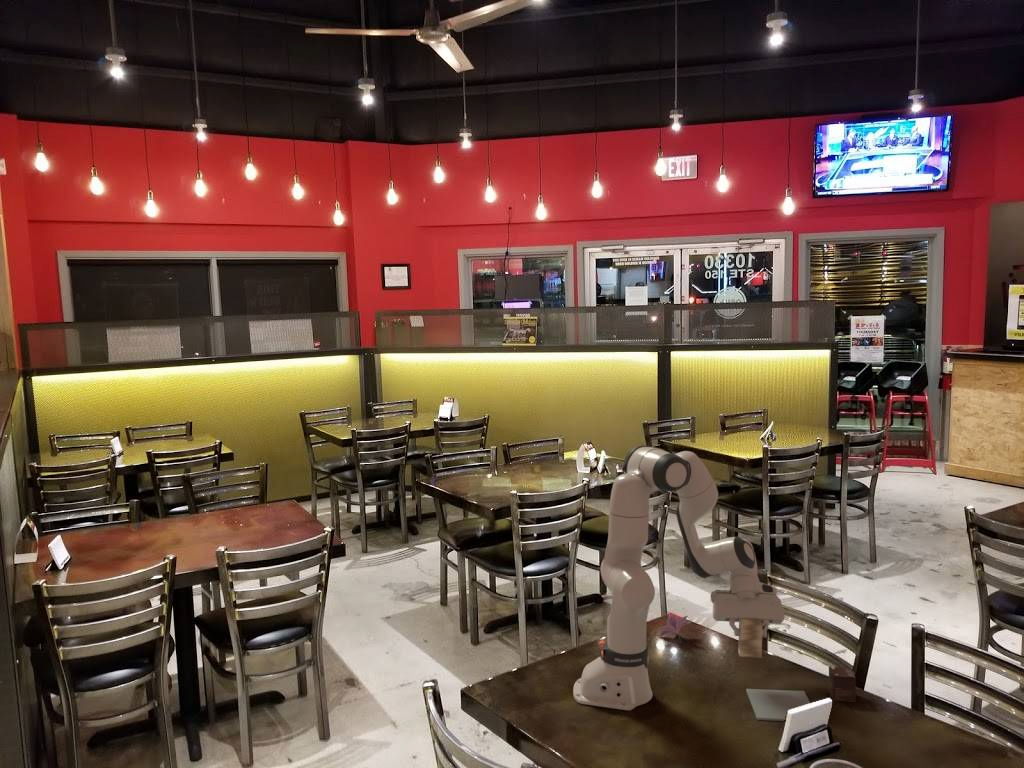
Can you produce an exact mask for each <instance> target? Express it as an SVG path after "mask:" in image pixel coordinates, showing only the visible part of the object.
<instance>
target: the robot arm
mask: <svg viewBox="0 0 1024 768" xmlns="http://www.w3.org/2000/svg"><path fill="white" fill-rule="evenodd" d="M621 471H622V474H620V475H618V476H617V477H616V478H615V479H614V480H613V484H612V488H611V493H610V500H609V508H608V510H609V511H608V532H607V533H608V534H607V535H608V536H607V543H606V547H605V552H604V556H603V559H602V561H601V564H600V574H601V578H602V581H603V583H604V584H605V586H606V587H607V588H608V590H609V591H610V594H611V606H610V607H611V608H610V612H609V615H608V616H607V618H606V625H607V626H606V628H607V629H606V630H607V632H606V634H607V635H606V638H607V639H606V641H605V640H600V641H599V642H598V648H599V652H600V653H599V656H598V657H597V658H595V659H593V660H592V661H590V662H589V663H587V664H586V665H585V666H584V668H583V671H582V673H581V677H579V678H578V679H577V680H576V681H575V683H574V685H573V688H572V689H573V690H572V693H573V694H572V695H573V699H574V700H575V701H576V702H577V703H579V704H580V705H589V706H593V707H594V706H596V707H601V708H608V709H615V710H616V709H617V710H624V711H632V710H635V708H636V707H638V706H642V705H644V704H647V703H648V702H649V701H651V700H652V698H653V691H652V689H651V688H652V687H651V683H650V678H649V673H648V672H649V671H648V667H649V648H648V645H647V623H648V622H647V621H648V615H649V610H650V606H651V604H652V603H653V601H654V598H655V596H656V589H655V586H654V583H653V581H652V578H651V577H650V575H649V573H648V572H646V571H645V569H644V568H643V567H642V557H643V552H644V549H645V547H646V545H647V543H648V541H649V518H650V497H651V495H652V492H653V490H654V489H655V490H660V491H662V492H675V493H676V494H677V496H678V498H679V503H677V505H676V509H675V514H676V520H677V523H678V527H679V531H680V534H681V537H682V539H683V543H684V547H685V550H686V553H687V557H688V562H689V566H690V568H691V571H692V572H693V573H694V574H695V575H697V576H698V577H700V578H703V579H706V578H709V577H710V578H711V577H714V576H717V575H720V574H725V573H729V579H728V580H729V581H728V583H729V589H728V590H727V589H722V590H721V589H715V590H714V591H712V592H711V593H710V602H712V618H713V619H714V620H715V621H716V622H728V624H729V626H730V628H731V629H732V631H733V634H734V637H739V636H740V628H739V627H737V625H736V624H735V623H739V619H750V620H761V622H762V627H763V628H762V638H767V637H768V632H767V631H768V628H769V626H770V624H773V625H777V624H778V625H781V624H782V623H783V622H784V620H785V618H786V617H785V609H784V607H783V603H782V601H781V599H780V597H779V596H778V595H777V593H778V591H777V589H778V588H777V587H775V586H773V585H769V584H766V583H764V582H761V581H760V579H759V576H758V564H757V563H758V562H757V557H756V553H755V550H754V546H753V543H752V542H750V540H748V539H746V538H743V537H739V536H730V537H727V538H723V539H717V540H714V541H710V542H702V541H700V538H699V535H698V531H697V528H696V523H697V522H698V521H699V520H700V519H702V518H703V517H704V516H707V514H709V513H710V512H711V511H712V510H713V509H714V507H715V506H716V504H717V503H718V499H719V491H718V488H717V484H716V483H715V481H714V479H713V477H712V475H711V473H710V472H709V470H708V468H707V467H706V465H705V464H704V462H703V461H702V460H701V459H700V457H699V456H698V455H697V454H696V453H695V452H693V451H688V450H683V451H680V452H677V453H671V452H668V451H666V450H664V449H662V448H659V447H652V446H648V445H637V446H634V447H632V448H631V449H630V450H629V451H628V452H627V454H626V456H625V459H624V462H623V467H622V470H621Z"/></svg>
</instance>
